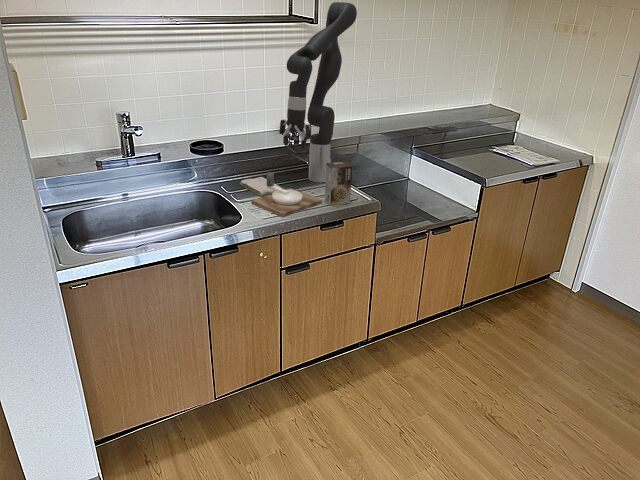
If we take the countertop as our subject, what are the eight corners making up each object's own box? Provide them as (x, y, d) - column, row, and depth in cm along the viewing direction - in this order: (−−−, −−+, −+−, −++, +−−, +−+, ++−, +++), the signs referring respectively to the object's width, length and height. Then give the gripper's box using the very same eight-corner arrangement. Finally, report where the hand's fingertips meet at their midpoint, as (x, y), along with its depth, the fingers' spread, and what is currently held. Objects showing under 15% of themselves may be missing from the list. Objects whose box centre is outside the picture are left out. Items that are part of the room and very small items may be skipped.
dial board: (290, 191, 222) (290, 187, 222) (321, 203, 212) (322, 199, 211) (251, 203, 207) (251, 199, 207) (283, 217, 197) (283, 213, 196)
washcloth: (261, 181, 234) (261, 174, 233) (284, 193, 222) (284, 186, 220) (238, 185, 227) (238, 179, 226) (260, 198, 215) (260, 191, 213)
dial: (308, 200, 209) (309, 180, 206) (286, 207, 201) (287, 187, 198) (278, 188, 220) (278, 169, 216) (256, 195, 211) (256, 175, 208)
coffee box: (344, 198, 218) (346, 161, 211) (350, 203, 213) (353, 165, 206) (323, 200, 215) (326, 162, 208) (329, 205, 210) (332, 167, 203)
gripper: (316, 109, 213) (313, 148, 219) (287, 104, 219) (285, 142, 225) (306, 111, 207) (303, 151, 213) (277, 105, 213) (275, 145, 219)
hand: (294, 146), depth 219 cm, fingers open, 8 cm apart
